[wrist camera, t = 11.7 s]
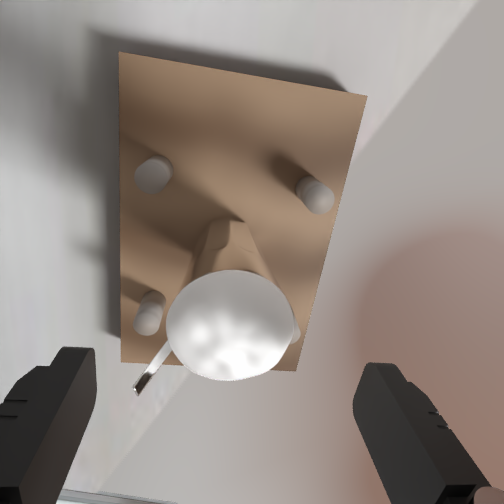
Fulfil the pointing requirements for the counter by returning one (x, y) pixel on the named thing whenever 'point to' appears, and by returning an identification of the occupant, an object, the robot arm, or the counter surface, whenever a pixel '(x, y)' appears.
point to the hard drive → (103, 498)
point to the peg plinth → (224, 183)
